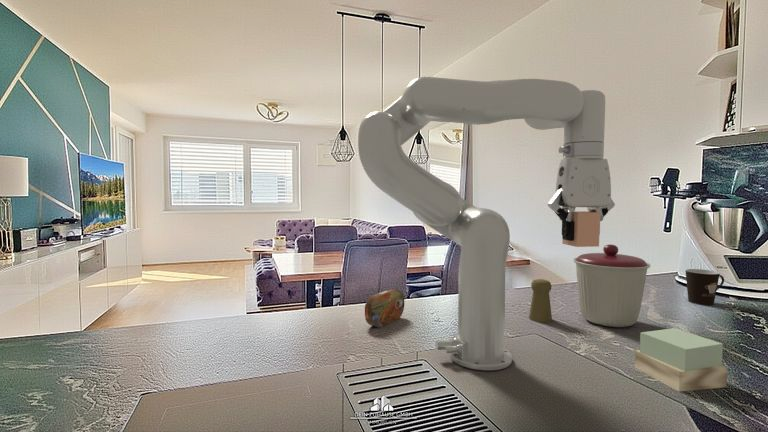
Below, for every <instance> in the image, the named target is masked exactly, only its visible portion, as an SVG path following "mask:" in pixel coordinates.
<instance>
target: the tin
mask: <svg viewBox="0 0 768 432" xmlns="http://www.w3.org/2000/svg"><path fill="white" fill-rule="evenodd" d="M404 310H405V298H404V295H403V292H402V291H401V290H399V289H387V290H384V291H380V292H378V293H376V294H373V295H370V297H368V298H367V300H366V301H365V305H364V317H365V322H366V323H367V324H368V325H369V326H370V327H376V328H382V327H381V326H383V327H385V326H386V324H387V325H389V324H391V323H393V321H394V322H396V321H398V320H399V319H400V318H401V317H402V315H403V314H404ZM388 323H389V324H388ZM384 325H385V326H384Z"/></svg>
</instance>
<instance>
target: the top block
mask: <svg viewBox="0 0 768 432" xmlns="http://www.w3.org/2000/svg"><path fill="white" fill-rule="evenodd" d="M639 338H640V339H639V350H640V353H643V354H645V355H647V356H650V357H652V358H654V359H657V360H659V361H661V362H664V363H666V364H668V365H671V366H673V367H675V368H678V369H680V370H682V371H691V370H697V369H703V368H709V367H715V366H720V365H722V366H723V354H724V353H723V350H724V349H723V348H724V344H723V343H721V342H718V341H716V340H713V339H709V338H707V337H703V336H700V335H697V334H695V333H691V332H688V331H685V330H683V329H679V328H676V327H674V328H673V327H672V328H665V329H658V330H650V331H642V332H640V337H639Z"/></svg>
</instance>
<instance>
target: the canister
mask: <svg viewBox="0 0 768 432" xmlns="http://www.w3.org/2000/svg"><path fill="white" fill-rule="evenodd" d="M602 248H603V249H602V250H603V252H591V253H583V254H582V253H581V254H580V255H578V256H577V257H574V258H573V259H572V260H573V263H575V269H576V281H577V292H578V301H579V309H580V313H581V314H582V317H583V318H584V319H585V320H587V321H588V322H590V323H592V324H596V325H599V326H604V327H610V328H611V327H612V328H628V327H631V326H633V325H635V324H636V323H637V321H638V320H639V316H640V313H641V306H642V303H643V297H644V292H645V285H646V279H647V273H648V269H649V268H651V263H648V262H646V261H645V260H644V259H643V258H640V257H637V256H633V255H627V254H620V253H618V252H619V247H618V246H617V245H615V244H612V243H611V244H606V245H604V247H602Z"/></svg>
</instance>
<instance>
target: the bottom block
mask: <svg viewBox="0 0 768 432" xmlns="http://www.w3.org/2000/svg"><path fill="white" fill-rule="evenodd" d="M634 352H635V353H634V369H636V370H639V371H640V372H642V373H644V374H645V375H648V376H649V377H650V378H651V377H652V378H653V379H654V380H657V381H659V382H661V383H662V384H665V385H666V386H668V387H669V388H671V389H673V390H675V391H677V392H687V391H689V392H690V391H698V390H699V391H700V390H709V389H720V388H721V389H722V388H727V385H728V383H727V381H728V367H727V366H724V365H723V364H722V365H720V366H715V367H709V368H703V369H697V370H691V371H682V370H680V369H678V368H675V367H673V366H671V365H668V364H666V363H664V362H661V361H659V360H657V359H654V358H652V357H650V356H647V355H645V354H643V353H640V349H635V351H634Z"/></svg>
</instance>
